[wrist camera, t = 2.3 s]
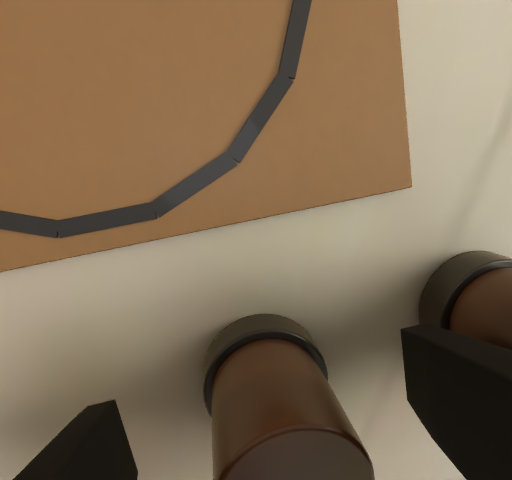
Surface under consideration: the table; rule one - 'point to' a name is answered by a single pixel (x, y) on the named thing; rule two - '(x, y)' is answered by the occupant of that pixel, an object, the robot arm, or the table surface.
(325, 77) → the sheet
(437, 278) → the cylinder
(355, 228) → the table surface
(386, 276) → the table surface
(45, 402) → the table surface
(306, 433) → the cylinder
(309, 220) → the table surface
